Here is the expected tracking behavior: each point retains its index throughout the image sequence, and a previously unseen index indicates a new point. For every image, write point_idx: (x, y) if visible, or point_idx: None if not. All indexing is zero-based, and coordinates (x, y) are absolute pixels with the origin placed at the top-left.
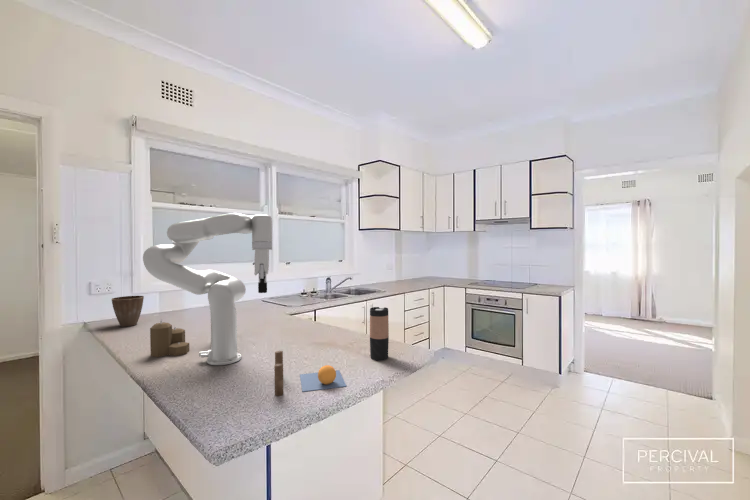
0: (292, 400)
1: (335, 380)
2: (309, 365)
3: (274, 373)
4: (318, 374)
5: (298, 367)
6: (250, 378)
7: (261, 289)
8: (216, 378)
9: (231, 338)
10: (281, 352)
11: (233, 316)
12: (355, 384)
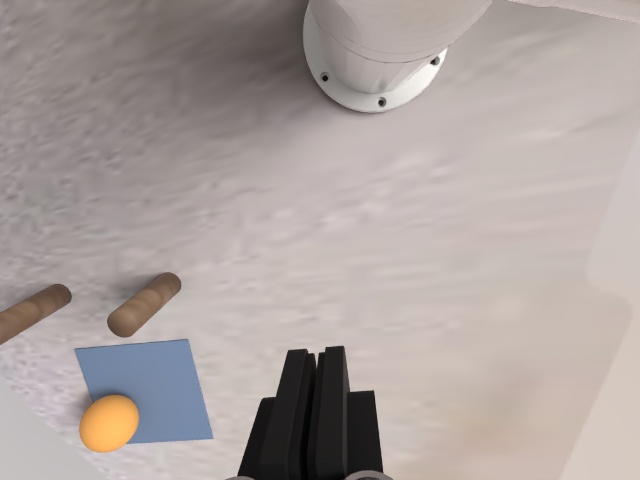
0: (29, 328)
1: (141, 425)
2: (265, 364)
3: (5, 310)
4: (94, 406)
5: (251, 333)
6: (168, 195)
7: (262, 418)
8: (173, 72)
9: (337, 62)
10: (115, 333)
11: (353, 42)
12: (121, 462)
